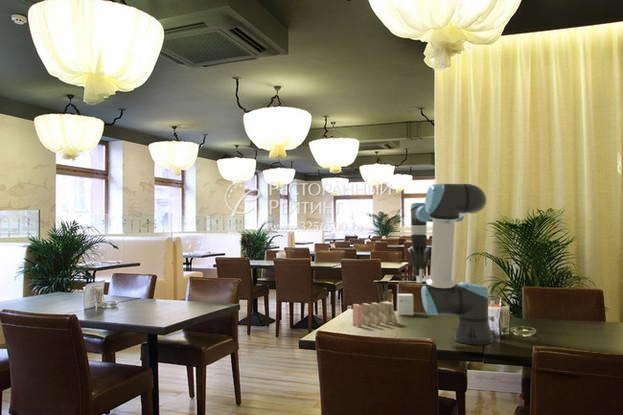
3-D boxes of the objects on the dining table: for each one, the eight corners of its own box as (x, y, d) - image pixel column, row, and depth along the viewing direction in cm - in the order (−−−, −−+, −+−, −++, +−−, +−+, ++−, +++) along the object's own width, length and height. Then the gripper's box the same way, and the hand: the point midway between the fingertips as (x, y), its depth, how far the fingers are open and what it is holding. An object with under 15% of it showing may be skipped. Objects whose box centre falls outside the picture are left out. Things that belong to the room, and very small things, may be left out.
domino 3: (374, 323, 245) (374, 302, 245) (379, 325, 241) (379, 304, 241) (370, 323, 244) (370, 302, 245) (376, 325, 240) (376, 304, 240)
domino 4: (383, 322, 247) (383, 301, 248) (388, 324, 243) (388, 303, 243) (379, 322, 247) (379, 302, 247) (385, 324, 242) (385, 303, 242)
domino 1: (356, 324, 241) (356, 303, 241) (361, 327, 237) (361, 305, 237) (352, 325, 240) (352, 304, 240) (358, 327, 236) (358, 305, 236)
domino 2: (365, 324, 243) (365, 303, 243) (370, 326, 239) (370, 304, 239) (361, 324, 242) (361, 303, 243) (367, 326, 238) (367, 305, 238)
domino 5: (391, 320, 249) (386, 301, 248) (397, 322, 245) (392, 302, 244) (388, 321, 249) (383, 302, 248) (393, 323, 244) (388, 304, 243)
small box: (412, 313, 270) (412, 293, 271) (413, 315, 265) (413, 295, 265) (397, 313, 271) (397, 293, 271) (398, 315, 266) (398, 295, 266)
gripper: (424, 234, 254) (425, 281, 253) (403, 234, 249) (403, 282, 247) (434, 234, 248) (435, 282, 246) (412, 234, 242) (413, 283, 241)
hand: (419, 282), depth 247 cm, fingers closed
